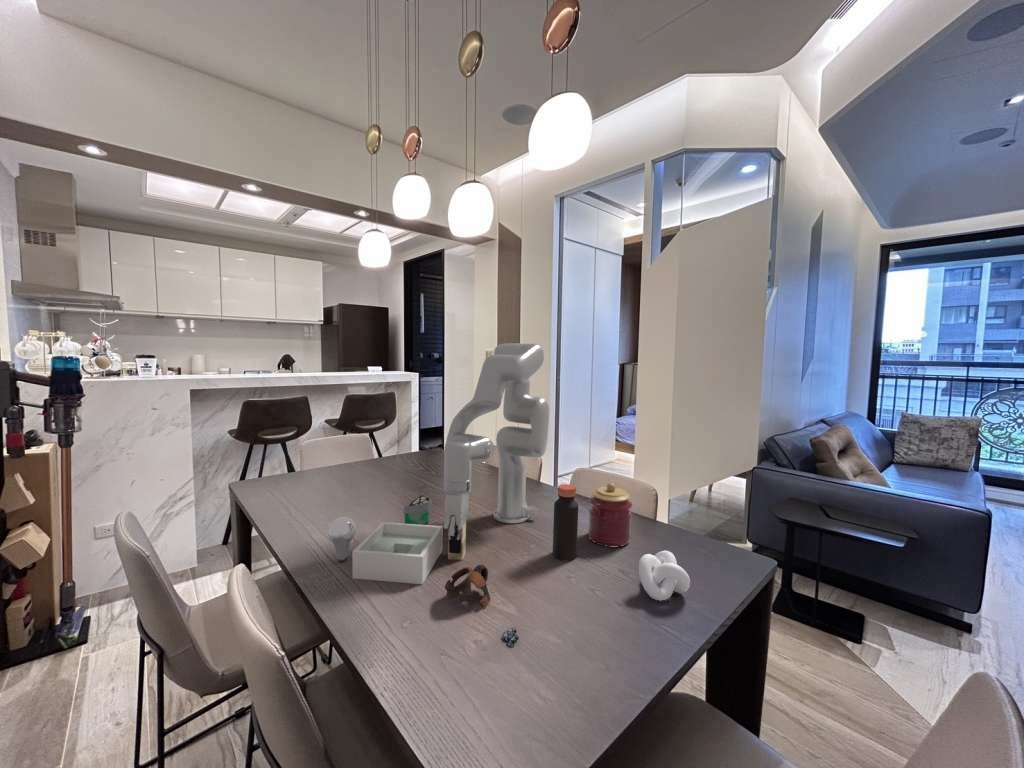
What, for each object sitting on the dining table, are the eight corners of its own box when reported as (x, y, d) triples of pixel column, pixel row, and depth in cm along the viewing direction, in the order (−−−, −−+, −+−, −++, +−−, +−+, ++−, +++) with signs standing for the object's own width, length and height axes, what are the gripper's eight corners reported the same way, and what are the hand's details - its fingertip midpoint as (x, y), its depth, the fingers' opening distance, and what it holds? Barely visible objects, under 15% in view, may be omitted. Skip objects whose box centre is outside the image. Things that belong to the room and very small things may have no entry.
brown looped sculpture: (482, 620, 90) (463, 589, 90) (451, 624, 95) (433, 594, 94) (504, 579, 101) (488, 551, 100) (476, 585, 105) (459, 558, 105)
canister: (638, 538, 130) (640, 483, 129) (617, 552, 121) (620, 493, 119) (601, 526, 139) (603, 474, 138) (579, 538, 130) (581, 482, 128)
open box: (442, 549, 120) (442, 526, 120) (422, 584, 103) (422, 556, 102) (382, 545, 122) (382, 521, 122) (352, 578, 104) (352, 551, 104)
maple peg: (465, 553, 119) (465, 519, 118) (462, 560, 115) (462, 525, 114) (451, 552, 119) (452, 518, 118) (448, 559, 115) (448, 524, 114)
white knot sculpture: (629, 577, 108) (631, 543, 107) (676, 578, 108) (678, 545, 107) (641, 603, 97) (643, 566, 96) (693, 605, 97) (696, 568, 96)
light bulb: (361, 556, 115) (361, 514, 114) (343, 569, 109) (343, 524, 108) (341, 552, 117) (340, 510, 116) (322, 564, 111) (321, 520, 110)
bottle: (562, 547, 123) (564, 481, 122) (581, 555, 119) (583, 487, 117) (547, 554, 119) (549, 486, 117) (566, 564, 114) (569, 492, 112)
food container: (422, 540, 126) (422, 508, 125) (403, 538, 127) (403, 506, 126) (437, 524, 138) (437, 494, 137) (420, 522, 139) (420, 492, 138)
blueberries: (528, 629, 88) (528, 620, 88) (531, 654, 80) (531, 644, 80) (496, 630, 88) (496, 621, 88) (496, 654, 80) (496, 644, 80)
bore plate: (438, 547, 119) (438, 537, 119) (420, 577, 104) (420, 566, 103) (384, 543, 121) (384, 533, 121) (358, 572, 105) (358, 561, 105)
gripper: (452, 475, 124) (451, 534, 125) (435, 494, 107) (435, 562, 109) (477, 476, 123) (476, 536, 125) (464, 496, 106) (463, 565, 108)
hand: (457, 548), depth 117 cm, fingers closed on maple peg, 4 cm apart
